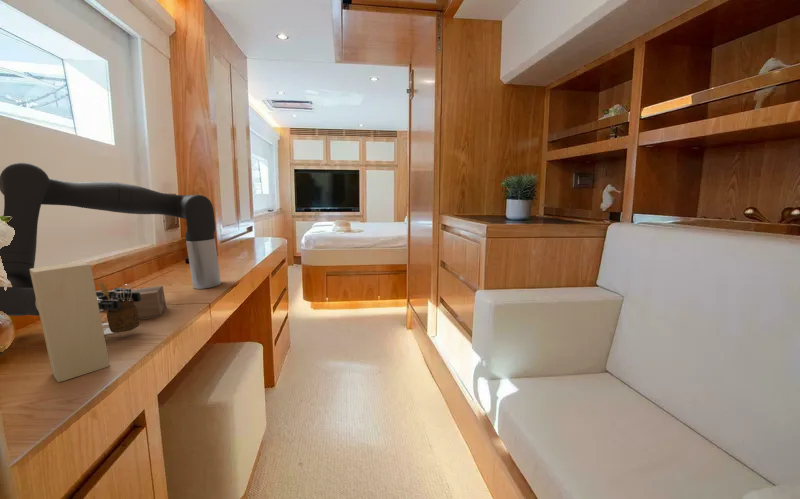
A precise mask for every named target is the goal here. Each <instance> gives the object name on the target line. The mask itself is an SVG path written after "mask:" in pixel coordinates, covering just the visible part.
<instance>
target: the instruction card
mask: <svg viewBox="0 0 800 499" xmlns="http://www.w3.org/2000/svg"><path fill="white" fill-rule="evenodd" d="M102 326H103V331H104V336H107V335H113V334H114V333H113V332H111V331H110V328H109V324H108V322H104V323H103V322H102Z"/></svg>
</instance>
